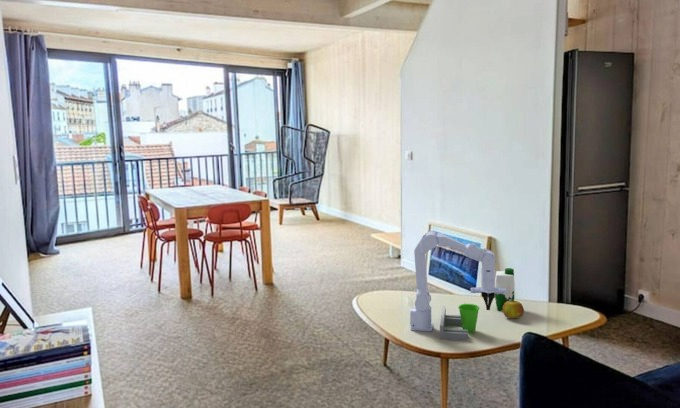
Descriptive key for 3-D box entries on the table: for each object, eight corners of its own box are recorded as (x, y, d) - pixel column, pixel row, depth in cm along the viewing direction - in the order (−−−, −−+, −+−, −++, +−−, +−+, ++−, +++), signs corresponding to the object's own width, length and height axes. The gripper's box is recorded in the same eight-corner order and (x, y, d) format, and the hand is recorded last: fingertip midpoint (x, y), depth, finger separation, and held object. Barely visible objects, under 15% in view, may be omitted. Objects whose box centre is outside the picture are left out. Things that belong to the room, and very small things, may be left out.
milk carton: (514, 312, 237) (515, 271, 234) (495, 311, 240) (495, 271, 237) (513, 306, 246) (513, 267, 243) (494, 305, 248) (494, 266, 245)
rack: (440, 339, 210) (440, 323, 209) (442, 320, 230) (442, 306, 229) (468, 340, 207) (467, 324, 206) (467, 322, 227) (467, 307, 226)
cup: (481, 334, 212) (481, 310, 211) (460, 335, 213) (460, 311, 211) (477, 326, 221) (476, 303, 220) (456, 327, 222) (456, 304, 220)
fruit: (515, 313, 236) (515, 297, 235) (528, 319, 227) (528, 302, 226) (498, 316, 233) (498, 299, 232) (510, 322, 225) (510, 305, 224)
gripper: (470, 281, 210) (470, 311, 212) (506, 282, 206) (506, 313, 208) (470, 276, 216) (470, 306, 218) (505, 277, 213) (505, 307, 215)
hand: (488, 309), depth 214 cm, fingers closed
